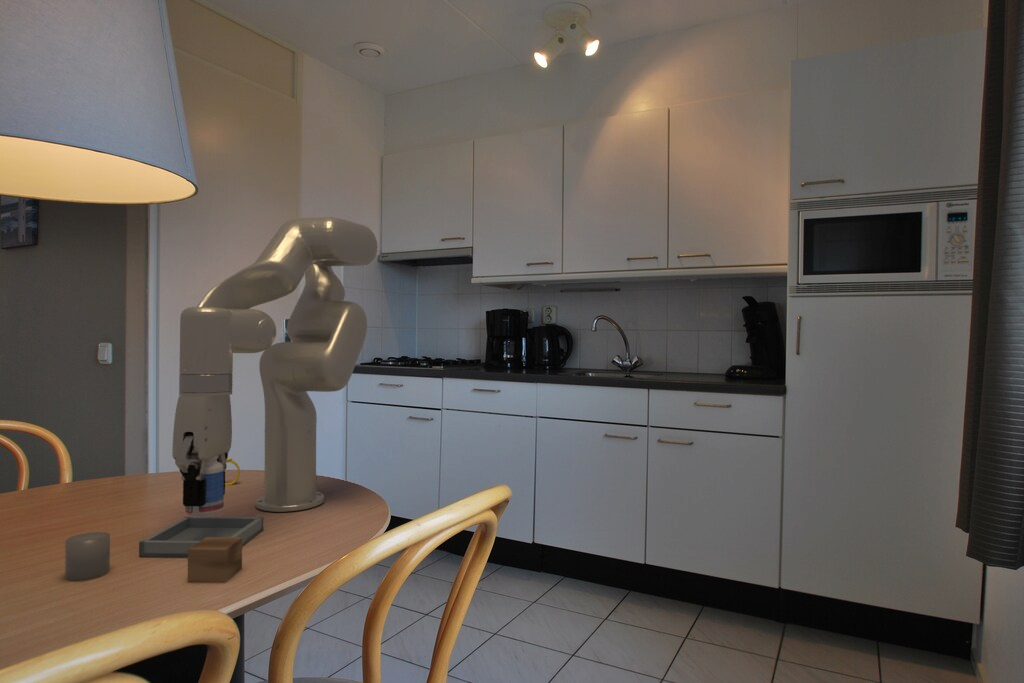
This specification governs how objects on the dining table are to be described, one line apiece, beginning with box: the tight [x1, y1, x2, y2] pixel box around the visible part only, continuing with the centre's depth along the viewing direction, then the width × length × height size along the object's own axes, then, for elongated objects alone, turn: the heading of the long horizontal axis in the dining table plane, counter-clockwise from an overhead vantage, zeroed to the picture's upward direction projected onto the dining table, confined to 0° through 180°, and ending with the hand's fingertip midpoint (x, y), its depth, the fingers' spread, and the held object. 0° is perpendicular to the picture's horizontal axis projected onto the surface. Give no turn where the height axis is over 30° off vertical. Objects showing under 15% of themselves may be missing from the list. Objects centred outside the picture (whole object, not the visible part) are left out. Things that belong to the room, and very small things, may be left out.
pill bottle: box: [184, 455, 225, 517], centre depth 96 cm, size 6×5×10 cm
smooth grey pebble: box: [64, 531, 111, 583], centre depth 83 cm, size 5×5×5 cm
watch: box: [225, 456, 241, 486], centre depth 134 cm, size 6×3×6 cm, turn 114°
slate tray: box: [138, 516, 264, 559], centre depth 96 cm, size 13×13×2 cm
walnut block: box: [187, 537, 243, 584], centre depth 83 cm, size 5×5×4 cm
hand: (204, 499), depth 96 cm, fingers closed on pill bottle, 5 cm apart
